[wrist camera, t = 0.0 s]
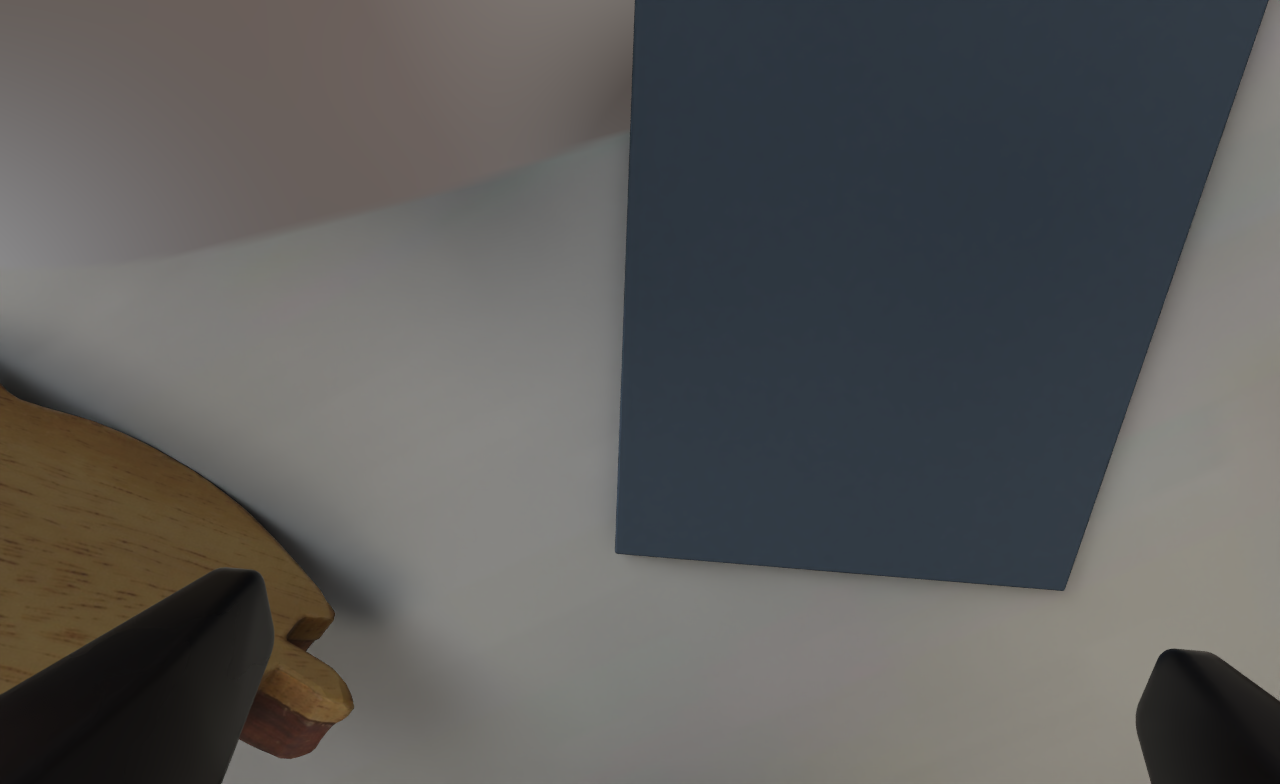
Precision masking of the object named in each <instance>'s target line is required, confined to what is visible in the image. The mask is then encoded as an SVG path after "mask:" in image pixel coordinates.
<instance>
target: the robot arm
mask: <svg viewBox="0 0 1280 784" xmlns="http://www.w3.org/2000/svg"><path fill="white" fill-rule="evenodd" d="M273 645H274V625H273V620H272V615H271V610H270V605H269V600H268V596H267V591H266V586H265V582H264V579H263V577H262V575H261V574H260V573H259V572H258V571H255V570H252V569H240V568H229V567H223V568H217V569H215V570H213V571H211V572H209V573H207V574H206V575H204V576H202V577H201V578H199V579H197V580H195V581H194V582H192V583H190V584H189V585H187V586H185V587H183V588H182V589H180V590H178V591H177V592H175V593H173V594H171V595H170V596H168V597H166V598H165V599H163V600H161V601H160V602H158V603H156V604H154V605H153V606H151V607H149V608H148V609H146V610H144V611H142V612H141V613H139V614H137V615H136V616H134V617H132V618H130V619H129V620H127V621H125V622H124V623H122V624H120V625H118V626H117V627H115V628H113V629H112V630H110V631H108V632H107V633H105V634H103V635H101V636H100V637H98V638H96V639H95V640H93V641H91V642H89V643H88V644H86V645H84V646H83V647H81V648H79V649H77V650H76V651H74V652H72V653H71V654H69V655H67V656H65V657H64V658H62V659H60V660H59V661H57V662H55V663H54V664H52V665H50V666H48V667H47V668H45V669H43V670H42V671H40V672H38V673H36V674H35V675H33V676H31V677H30V678H28V679H26V680H24V681H23V682H21V683H19V684H18V685H16V686H14V687H12V688H11V689H9V690H7V691H6V692H4V693H2V694H1V695H0V784H221V783H222V781H223V778H224V776H225V773H226V771H227V768H228V766H229V763H230V761H231V758H232V755H233V753H234V750H235V748H236V745H237V742H238V740H239V737H240V735H241V732H242V729H243V727H244V724H245V721H246V719H247V716H248V714H249V711H250V708H251V706H252V703H253V701H254V698H255V695H256V693H257V690H258V688H259V685H260V682H261V680H262V677H263V674H264V672H265V669H266V667H267V664H268V661H269V659H270V656H271V653H272V650H273ZM1136 729H1137V734H1138V738H1139V741H1140V745H1141V749H1142V752H1143V756H1144V759H1145V763H1146V766H1147V770H1148V774H1149V777H1150V781H1151V784H1280V701H1279V700H1277V699H1276V698H1274V697H1273V696H1272V695H1270V694H1269V693H1268V692H1266V691H1265V690H1263V689H1262V688H1261V687H1259V686H1258V685H1256V684H1255V683H1254V682H1252V681H1251V680H1250V679H1248V678H1247V677H1245V676H1244V675H1243V674H1241V673H1240V672H1239V671H1237V670H1236V669H1234V668H1233V667H1232V666H1230V665H1229V664H1228V663H1226V662H1225V661H1223V660H1222V659H1221V658H1219V657H1218V656H1216V655H1214V654H1212V653H1209V652H1205V651H1195V650H1184V649H1169V650H1166V651H1164V652H1163V653H1162V654H1161V655H1160V656H1159V658H1158V660H1157V662H1156V664H1155V667H1154V669H1153V671H1152V674H1151V676H1150V678H1149V680H1148V683H1147V685H1146V687H1145V690H1144V692H1143V694H1142V697H1141V699H1140V701H1139V704H1138V707H1137V711H1136Z"/></svg>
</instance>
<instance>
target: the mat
mask: <svg viewBox="0 0 1280 784" xmlns="http://www.w3.org/2000/svg"><path fill="white" fill-rule="evenodd" d="M1268 1H1269V0H635V16H634V44H633V71H632V98H631V125H630V153H629V180H628V208H627V236H626V263H625V291H624V318H623V346H622V374H621V401H620V429H619V456H618V484H617V512H616V539H615V552H616V553H617V554H627V555H639V556H651V557H663V558H675V559H687V560H699V561H711V562H723V563H735V564H747V565H759V566H771V567H783V568H795V569H807V570H819V571H831V572H843V573H855V574H867V575H879V576H891V577H903V578H915V579H927V580H939V581H951V582H963V583H975V584H987V585H999V586H1011V587H1023V588H1035V589H1047V590H1059V591H1064V590H1065V587H1066V584H1067V581H1068V579H1069V576H1070V573H1071V570H1072V567H1073V564H1074V561H1075V558H1076V555H1077V553H1078V550H1079V547H1080V544H1081V541H1082V538H1083V535H1084V532H1085V529H1086V526H1087V524H1088V521H1089V518H1090V515H1091V512H1092V509H1093V506H1094V503H1095V500H1096V498H1097V495H1098V492H1099V489H1100V486H1101V483H1102V480H1103V477H1104V474H1105V472H1106V469H1107V466H1108V463H1109V460H1110V457H1111V454H1112V451H1113V448H1114V446H1115V443H1116V440H1117V437H1118V434H1119V431H1120V428H1121V425H1122V422H1123V420H1124V417H1125V414H1126V411H1127V408H1128V405H1129V402H1130V399H1131V396H1132V394H1133V391H1134V388H1135V385H1136V382H1137V379H1138V376H1139V373H1140V370H1141V368H1142V365H1143V362H1144V359H1145V356H1146V353H1147V350H1148V347H1149V344H1150V342H1151V339H1152V336H1153V333H1154V330H1155V327H1156V324H1157V321H1158V318H1159V316H1160V313H1161V310H1162V307H1163V304H1164V301H1165V298H1166V295H1167V292H1168V290H1169V287H1170V284H1171V281H1172V278H1173V275H1174V272H1175V269H1176V266H1177V264H1178V261H1179V258H1180V255H1181V252H1182V249H1183V246H1184V243H1185V240H1186V238H1187V235H1188V232H1189V229H1190V226H1191V223H1192V220H1193V217H1194V214H1195V212H1196V209H1197V206H1198V203H1199V200H1200V197H1201V194H1202V191H1203V188H1204V186H1205V183H1206V180H1207V177H1208V174H1209V171H1210V168H1211V165H1212V162H1213V159H1214V157H1215V154H1216V151H1217V148H1218V145H1219V142H1220V139H1221V136H1222V133H1223V131H1224V128H1225V125H1226V122H1227V119H1228V116H1229V113H1230V110H1231V107H1232V105H1233V102H1234V99H1235V96H1236V93H1237V90H1238V87H1239V84H1240V81H1241V79H1242V76H1243V73H1244V70H1245V67H1246V64H1247V61H1248V58H1249V55H1250V53H1251V50H1252V47H1253V44H1254V41H1255V38H1256V35H1257V32H1258V29H1259V27H1260V24H1261V21H1262V18H1263V15H1264V12H1265V9H1266V6H1267V3H1268Z"/></svg>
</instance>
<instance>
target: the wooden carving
mask: <svg viewBox="0 0 1280 784" xmlns="http://www.w3.org/2000/svg"><path fill="white" fill-rule="evenodd" d="M223 567H229V568H240V569H252V570H255V571H258V572H259V573H260V574H261V575H262V577H263V579H264V582H265V586H266V591H267V596H268V600H269V605H270V610H271V615H272V620H273V625H274V645H273V650H272V653H271V656H270V659H269V661H268V664H267V667H266V669H265V672H264V674H263V677H262V680H261V682H260V685H259V688H258V690H257V693H256V695H255V698H254V701H253V703H252V706H251V708H250V711H249V714H248V716H247V719H246V721H245V724H244V727H243V729H242V732H241V735H240V737H239V739H240V740H242V741H244V742H245V743H247V744H249V745H251V746H253V747H256V748H258V749H260V750H262V751H265V752H267V753H270V754H272V755H274V756H276V757H278V758H286V759H292V758H296V757H300V756H303V755H305V754H308V753H310V752H312V751H313V750H314V749H315V748H316V747H317V745H318V743H319V742H320V740H321V739H322V738H323V736H324V735H325V734H326V733H327V731H328V730H329V729H330V728H331V727H332V726H333V725H334V724H335V723H337V722H339V721H341V720H343V719H345V718H346V717H347V716H348V715H349V714H350V712H351V711H352V710H353V709H354V704H353V699H352V696H351V693H350V691H349V689H348V687H347V685H346V683H345V682H344V681H343V679H342V678H341V677H340V676H339V675H338V674H337V673H336V671H335V670H334V669H333V668H331V667H330V666H328V665H327V664H325V663H324V662H322V661H321V660H319V659H317V658H316V657H314V656H312V655H311V654H309V653H307V652H306V650H307V649H308V648H309V646H310V645H311V644H312V643H313V642H314V641H315V640H317V639H319V638H320V637H321V636H322V634H323V633H324V632H325V630H326V629H327V628H328V627H329V625H330V624H331V623H332V622H333V621H334V617H335V612H334V611H333V609H332V607H331V606H330V605H329V603H328V602H327V601H326V600H325V598H324V596H323V594H322V592H321V590H320V589H319V588H318V587H317V586H316V584H315V583H314V582H313V581H312V580H311V579H310V577H309V576H308V575H307V574H306V573H305V572H304V570H303V569H302V568H301V567H300V566H299V565H298V564H297V563H296V562H295V560H294V559H293V558H292V557H291V556H290V555H289V554H288V553H287V551H286V550H285V549H284V548H283V547H282V546H281V544H280V543H279V542H278V541H277V540H276V539H275V538H274V537H273V536H272V535H271V534H270V533H269V532H268V531H267V530H266V529H265V528H264V527H263V526H262V525H261V524H260V523H259V522H258V521H257V520H256V519H255V518H254V517H253V516H252V515H251V514H250V513H248V512H247V511H246V510H245V509H244V508H243V507H242V506H241V505H239V504H238V503H237V502H235V501H234V500H233V499H232V498H230V497H229V496H228V495H226V494H225V493H224V492H223V491H221V490H220V489H219V488H217V487H216V486H215V485H214V484H212V483H211V482H209V481H208V480H206V479H205V478H203V477H202V476H200V475H199V474H197V473H196V472H194V471H193V470H191V469H190V468H188V467H186V466H185V465H183V464H181V463H180V462H178V461H176V460H174V459H173V458H171V457H169V456H167V455H166V454H164V453H162V452H160V451H158V450H156V449H155V448H153V447H151V446H149V445H147V444H145V443H143V442H141V441H139V440H137V439H135V438H133V437H130V436H128V435H126V434H124V433H121V432H119V431H116V430H114V429H112V428H109V427H107V426H104V425H102V424H99V423H97V422H95V421H91V420H88V419H84V418H81V417H78V416H74V415H71V414H67V413H64V412H60V411H56V410H53V409H49V408H46V407H42V406H39V405H36V404H33V403H30V402H27V401H24V400H20V399H18V398H17V397H15V396H14V395H12V394H11V393H9V392H8V391H7V390H6V389H5V388H4V387H3V386H2V385H1V383H0V695H1V694H2V693H4V692H6V691H7V690H9V689H11V688H12V687H14V686H16V685H18V684H19V683H21V682H23V681H24V680H26V679H28V678H30V677H31V676H33V675H35V674H36V673H38V672H40V671H42V670H43V669H45V668H47V667H48V666H50V665H52V664H54V663H55V662H57V661H59V660H60V659H62V658H64V657H65V656H67V655H69V654H71V653H72V652H74V651H76V650H77V649H79V648H81V647H83V646H84V645H86V644H88V643H89V642H91V641H93V640H95V639H96V638H98V637H100V636H101V635H103V634H105V633H107V632H108V631H110V630H112V629H113V628H115V627H117V626H118V625H120V624H122V623H124V622H125V621H127V620H129V619H130V618H132V617H134V616H136V615H137V614H139V613H141V612H142V611H144V610H146V609H148V608H149V607H151V606H153V605H154V604H156V603H158V602H160V601H161V600H163V599H165V598H166V597H168V596H170V595H171V594H173V593H175V592H177V591H178V590H180V589H182V588H183V587H185V586H187V585H189V584H190V583H192V582H194V581H195V580H197V579H199V578H201V577H202V576H204V575H206V574H207V573H209V572H211V571H213V570H215V569H217V568H223Z"/></svg>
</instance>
